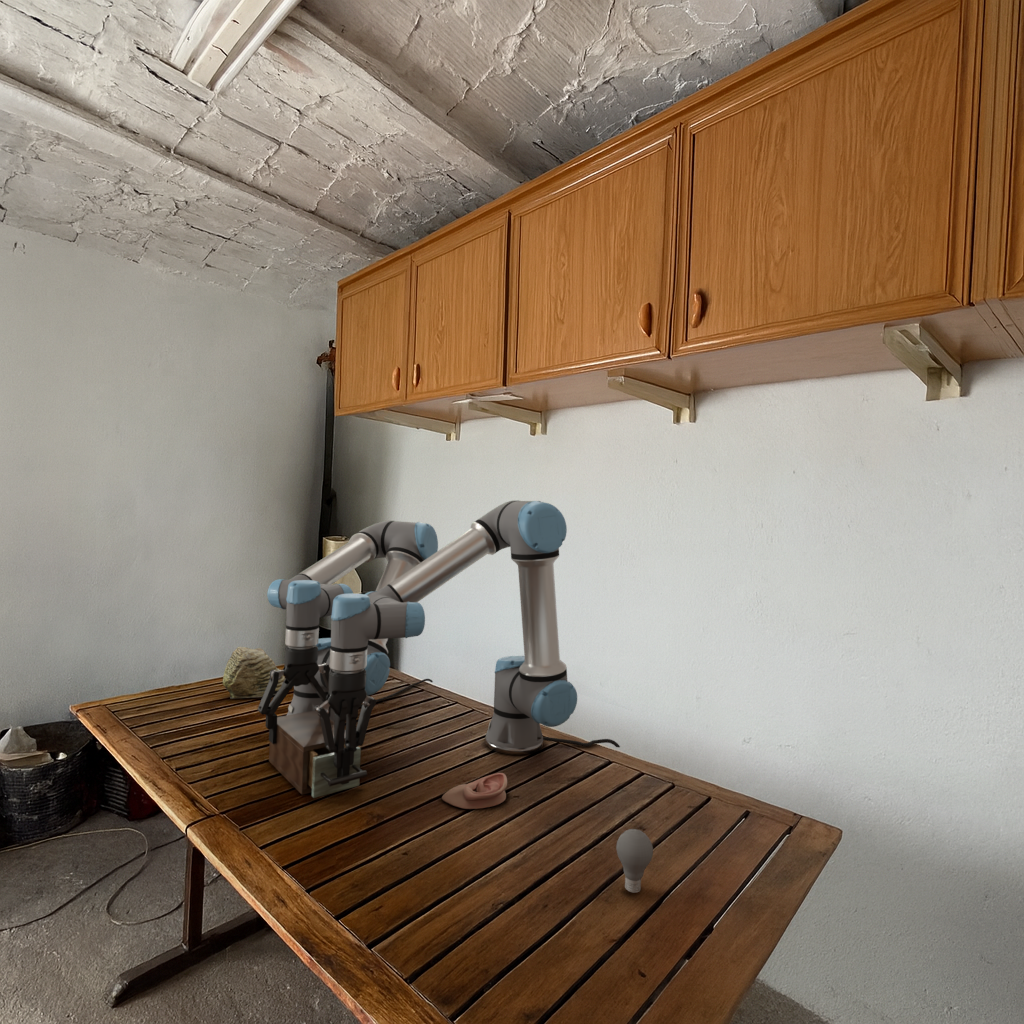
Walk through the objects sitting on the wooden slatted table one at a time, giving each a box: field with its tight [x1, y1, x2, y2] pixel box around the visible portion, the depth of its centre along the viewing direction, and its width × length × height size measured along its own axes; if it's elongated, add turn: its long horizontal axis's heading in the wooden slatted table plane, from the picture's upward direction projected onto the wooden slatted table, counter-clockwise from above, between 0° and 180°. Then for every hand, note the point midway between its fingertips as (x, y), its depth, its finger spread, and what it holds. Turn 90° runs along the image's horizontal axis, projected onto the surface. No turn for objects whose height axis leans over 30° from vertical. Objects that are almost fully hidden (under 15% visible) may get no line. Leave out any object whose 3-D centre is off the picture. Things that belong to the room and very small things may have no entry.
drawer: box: [307, 743, 368, 799], centre depth 139 cm, size 25×10×8 cm, turn 40°
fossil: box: [222, 646, 285, 699], centre depth 198 cm, size 9×18×15 cm, turn 132°
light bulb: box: [615, 828, 654, 894], centre depth 106 cm, size 6×6×10 cm
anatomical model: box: [441, 772, 508, 810], centre depth 136 cm, size 13×4×12 cm
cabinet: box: [268, 710, 346, 796], centre depth 146 cm, size 21×11×10 cm, turn 40°
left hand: (298, 736), depth 151 cm, fingers closed on cabinet, 11 cm apart
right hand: (342, 781), depth 132 cm, fingers closed
